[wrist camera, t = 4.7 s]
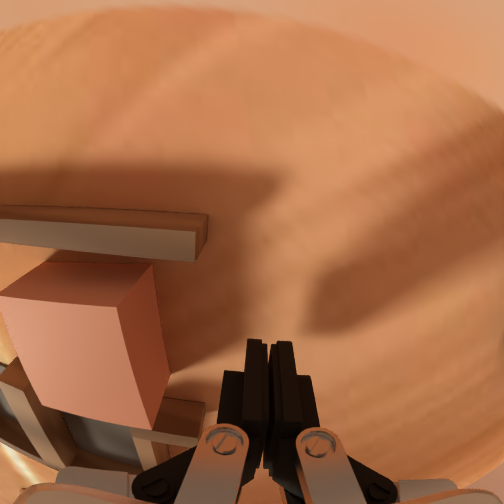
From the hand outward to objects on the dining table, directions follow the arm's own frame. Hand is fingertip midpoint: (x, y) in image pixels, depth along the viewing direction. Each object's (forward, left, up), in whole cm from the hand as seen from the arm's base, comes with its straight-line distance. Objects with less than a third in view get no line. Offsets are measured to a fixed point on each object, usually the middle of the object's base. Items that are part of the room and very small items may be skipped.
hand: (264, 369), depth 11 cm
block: (0, +8, -3) cm, 8 cm away
